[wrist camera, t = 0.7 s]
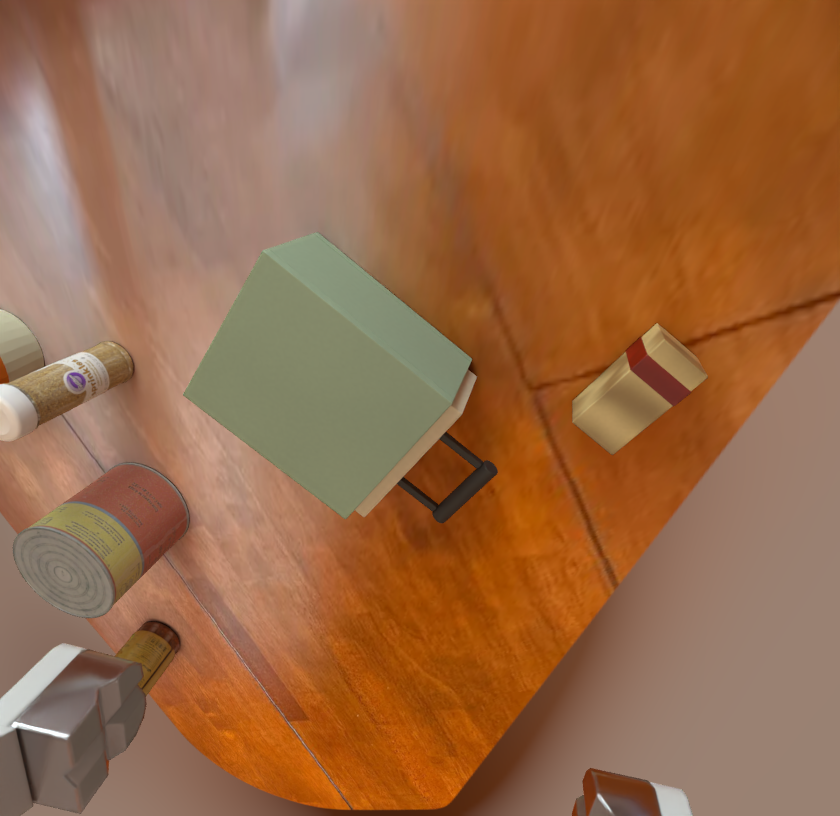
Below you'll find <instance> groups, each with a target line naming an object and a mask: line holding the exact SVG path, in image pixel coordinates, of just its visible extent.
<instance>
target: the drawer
mask: <svg viewBox="0 0 840 816" xmlns="http://www.w3.org/2000/svg"><path fill="white" fill-rule="evenodd" d="M476 378H477V376H476V375H474V374H473V373H472V372H471V371H469V370H467V372H466V374H465V377H464V379H463V381H462V383H461V385H460V388H459V390H458V392H457V394H456V396H455V399H454V401H453V403H452V405H451V406H450V407H449V408H448V409H447V410H446V411H445V412H444V413H443V414H442V415H441V417H440V418H439V419H438V420H437V421H436V422H435V423H434V424H433V425H432V426H431V427H430V428H429V430H428V431H427V432H426V433H425V434H424V435H423V436H422V437H421V438H420V439H419V440H418V442H417V443H416V444H415V445H414V446H413V447H412V448H411V449H410V450H409V451H408V452H407V453H406V455H405V456H404V457H403V458H402V459H401V460H400V461H399V462H398V463H397V464H396V465H395V467H394V468H393V469H392V470H391V471H390V472H389V473H388V474H387V475H386V476H385V477H384V478H383V480H382V481H381V482H380V483H379V484H378V485H377V486H376V487H375V488H374V489H373V490H372V492H371V493H370V494H369V495H368V496H367V497H366V498H365V499H364V500H363V501H362V502H361V503H360V505H359V506H358V507H357V508H356V509H355V511H356V512H358V513H359V514H360V515H362V516H363V517H366V516H367V514H368V513H369V512H370V511H371V510H372V509H373V508H374V507H375V506H376V505H377V504H378V503H379V502H380V501H381V500H382V499H383V498H384V496H385V495H386V494H387V493H388V492H389V491H390V490H391V489H392V488H393V487H394V486H395V485H396V484H398V485H399V486H401V487H402V488H403V489H404V490H406V491H407V492H408V493H409V494H411V495H412V496H413V497H415V498H416V499H417V500H418V501H420V502H421V503H422V504H424V505H425V506H426V507H427V508H429V509H430V510H431V511H433V512H432V514H433V517H434V518H435V520H436V521H438V522H439V523H444V522H445V521H447V520H448V519H449V518H450V517H451V516H452V515H453V514H454V513H455V512H456V511H457V510H458V509H460V508H461V507H462V506H463V505H464V504H465V503H466V502H467V501H468V500H469V499H470V498H471V497H473V496H474V495H475V494H476V493H477V492H478V491H479V490H480V489H481V488H482V487H483V486H484V485H485V484H487V483H488V482H489V481H490V480H491V479H492V478H493V477H494V476H495V475H496V474H497V473H498V471H497V468H496V466H495V465H494V464H493V463H492V462H490V461H488V460H486V461H484V462H483V461H482V460H480V459H479V458H478V457H477V456H475V455H474V454H473V453H472V452H470V451H469V450H468V449H467V448H465V447H464V446H463V445H462V444H460V443H459V442H458V441H457V440H455V439H454V438H453V437H452V436H450V435H449V434H448V433H447V432H446V431H447V430H448V429H449V428H450V427H451V426H452V425H453V424H454V423H455V422H456V420H457V419H458V418H459V417H460V416H461V415H462V414H463V411H464V409H465V406H466V404H467V401H468V399H469V396H470V393H471V391H472V388H473V386H474V383H475V381H476ZM438 439H440V440H441V441H443V442H444V443H445V444H446V445H448V446H449V447H450V448H451V449H453V450H454V451H455V452H456V453H458V454H459V455H460V456H462V457H463V458H464V459H465V460H467V461H468V462H469V463H470V464H472V465H473V466H474V467H475V468H477V469H476V470H475V471H474V472H473V473H472V474H471V475H470V476H468V477H467V478H466V479H465V480H464V481H463V482H462V483H461V484H460V485H459V486H458V487H457V488H456V489H455V490H454V491H453V492H452V493H451V494H450V495H449V496H448V497H447V498H446V499H444V500H443V501H442V502H441V503H440V504H439V505H438V504H437V503H436V502H435V501H433V500H432V499H431V498H430V497H428V496H427V495H426V494H424V493H423V492H422V491H421V490H419V489H418V488H417V487H416V486H414V485H413V484H412V483H410V482H409V481H408V480H407V479H405V478H404V477H403V476H404V475H405V474H406V473H407V472H408V471H409V470H410V469H411V468H412V467H413V466H414V465H415V464H416V463H417V462H418V461H419V460H420V458H421V457H422V456H423V455H424V454H425V453H426V452H427V451H428V450H429V449H430V448H431V447H432V446H433V445H434V444H435V443H436V442H437V441H438Z"/></svg>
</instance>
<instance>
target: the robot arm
mask: <svg viewBox="0 0 840 816" xmlns="http://www.w3.org/2000/svg"><path fill="white" fill-rule="evenodd" d="M143 677H144V674H143V668H142V663H139V662H135V661H131V660H127V659H123V658H120V657H116V656H112V655H108V654H104V653H100V652H96V651H93V650H90V649H86V648H81V647H77V646H73V645H69V644H65V643H63V644H61V645H59V646H57V647H55V648H53V649H52V650H50V651H49V652H48V653H47V654H46V655H45V656H44V657H43V658H42V659H41V660H40V661H39V662H38V663H37V664H36V665H35V666H34V667H33V668H32V669H31V670H30V671H29V672H28V673H27V674H26V675H25V676H24V677H23V678H21V680H20V681H18V682H17V683H16V684H15V685H14V686H13V687H12V688H11V689H10V690H9V691H8V692H7V693H6V694H5V695H4V696H3V697H2V698H1V699H0V816H20V815H22V814H23V813H25V812H26V811H27V810H29V809H30V808H32V807H33V803H36V804H41V805H45V806H50V807H53V808H58V809H62V810H67V811H70V812H75V813H79V814H81V813H82V811H83V810H84V809H85V807H86V806H87V804H88V803H89V801H90V800H91V798H92V797H93V796H94V794H95V793H96V792H97V790H98V789H99V787H100V786H101V785H102V783H103V782H104V780H105V779H106V778H107V776H108V770H109V760H110V759H112V758H114V757H115V756H117V755H119V754H120V753H122V752H124V751H125V750H126V749H127V748H128V746H129V745H130V743H131V742H132V740H133V739H134V737H135V736H136V734H137V732H138V729H139V727H140V725H141V723H142V721H143V718H144V714H145V709H146V694H145V693H144V692H143V690H142V689H141V688H140V687H139V685H138V684H139V682H140V681H141V680H142V678H143ZM583 791H584V795H583V796H581V797H579V798H577V799H576V802H575V805H574V809H573V812H572V816H693V814H692V811H691V807H690V804H689V800H688V798H687V796H686V795H685V793H684V792H683V790H681V789H678V788H674V787H669V786H665V785H660V784H656V783H651V782H649V781H647V780H642V779H638V778H634V777H628V776H625V775H620V774H615V773H611V772H606V771H602V770H597V769H593V768H590V769H588V770H587V771H586V773H585V776H584V779H583Z"/></svg>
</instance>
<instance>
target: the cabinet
mask: <svg viewBox="0 0 840 816" xmlns="http://www.w3.org/2000/svg"><path fill="white" fill-rule="evenodd" d="M471 361H472V358H470V357H469V356H468V355H467V354H466V353H464V352H463V351H462V350H461V349H459V348H458V347H457V346H456V345H455V344H453V343H452V342H451V341H450V340H448V339H447V338H446V337H445V336H444V335H442V334H441V333H440V332H439V331H438V330H436V329H435V328H434V327H433V326H431V325H430V324H429V323H428V322H427V321H425V320H424V319H423V318H422V317H420V316H419V315H418V314H417V313H416V312H414V311H413V310H412V309H411V308H409V307H408V306H407V305H406V304H405V303H403V302H402V301H401V300H400V299H398V298H397V297H396V296H395V295H394V294H392V293H391V292H390V291H389V290H387V289H386V288H385V287H384V286H383V285H381V284H380V283H379V282H378V281H376V280H375V279H374V278H373V277H372V276H370V275H369V274H368V273H367V272H366V271H364V270H363V269H362V268H361V267H359V266H358V265H357V264H356V263H355V262H353V261H352V260H351V259H350V258H348V257H347V256H346V255H345V254H344V253H342V252H341V251H340V250H339V249H337V248H336V247H335V246H334V245H333V244H331V243H330V242H329V241H328V240H326V239H325V238H324V237H323V236H322V235H320V234H319V233H318V232H316V233H313V234H310V235H307V236H304V237H301V238H298V239H295V240H293V241H290V242H287V243H284V244H281V245H278V246H275V247H272V248H269V249H266V250H263V251H262V253H261V255H260V256H259V258H258V260H257V262H256V264H255V266H254V267H253V269H252V271H251V273H250V275H249V276H248V278H247V280H246V282H245V284H244V285H243V287H242V289H241V291H240V293H239V294H238V296H237V298H236V300H235V302H234V303H233V305H232V307H231V309H230V311H229V313H228V314H227V316H226V318H225V320H224V322H223V323H222V325H221V327H220V329H219V331H218V332H217V334H216V336H215V338H214V340H213V341H212V343H211V345H210V347H209V349H208V350H207V352H206V354H205V356H204V358H203V359H202V361H201V363H200V365H199V367H198V369H197V370H196V372H195V374H194V376H193V378H192V379H191V381H190V383H189V385H188V387H187V388H186V390H185V392H184V394H183V396H185V397H186V398H187V399H189V400H190V401H191V402H193V403H194V404H195V405H197V406H198V407H199V408H200V409H202V410H203V411H204V412H206V413H207V414H208V415H210V416H211V417H212V418H213V419H215V420H216V421H217V422H219V423H220V424H221V425H223V426H224V427H225V428H227V429H228V430H229V431H230V432H232V433H233V434H234V435H236V436H237V437H238V438H240V439H241V440H242V441H244V442H245V443H246V444H247V445H249V446H250V447H251V448H253V449H254V450H255V451H257V452H258V453H259V454H261V455H262V456H263V457H264V458H266V459H267V460H268V461H270V462H271V463H272V464H274V465H275V466H276V467H277V468H279V469H280V470H281V471H283V472H284V473H285V474H287V475H288V476H289V477H291V478H292V479H293V480H294V481H296V482H297V483H298V484H300V485H301V486H302V487H304V488H305V489H306V490H308V491H309V492H310V493H311V494H313V495H314V496H315V497H317V498H318V499H319V500H321V501H322V502H323V503H325V504H326V505H327V506H328V507H330V508H331V509H332V510H334V511H335V512H336V513H338V514H339V515H340V516H341V517H343V518H344V519H347V518H348V517H349V515H350V514H351V513H352V512H353V511H354V510H355V509H356V508H357V507H358V506H359V505H360V503H361V502H362V501H363V500H364V499H365V498H366V497H367V496H368V495H369V494H370V493H371V492H372V490H373V489H374V488H375V487H376V486H377V485H378V484H379V483H380V482H381V481H382V480H383V478H384V477H385V476H386V475H387V474H388V473H389V472H390V471H391V470H392V469H393V468H394V467H395V465H396V464H397V463H398V462H399V461H400V460H401V459H402V458H403V457H404V456H405V455H406V453H407V452H408V451H409V450H410V449H411V448H412V447H413V446H414V445H415V444H416V443H417V442H418V440H419V439H420V438H421V437H422V436H423V435H424V434H425V433H426V432H427V431H428V430H429V428H430V427H431V426H432V425H433V424H434V423H435V422H436V421H437V420H438V419H439V418H440V417H441V415H442V414H443V413H444V412H445V411H446V410H447V409H448V408H449V407H450V406H451V405H452V403H453V401H454V399H455V396H456V394H457V392H458V390H459V388H460V385H461V383H462V381H463V379H464V377H465V374H466V372H467V370H468V368H469V366H470V363H471Z"/></svg>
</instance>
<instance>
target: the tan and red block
mask: <svg viewBox="0 0 840 816" xmlns="http://www.w3.org/2000/svg"><path fill="white" fill-rule="evenodd" d="M707 378H708V376H707V374H706V372H705V370H704V369H703V367H702V365H701V363H700V362H699V360H698V358H697V357H696V356H695V355H694V354H693V353H692V352H690V351H689V350H688V349H687V348H686V347H685V346H683V345H682V344H681V343H680V342H679V341H678V340H676V339H675V338H674V337H673V336H672V335H671V334H669V333H668V332H667V331H666V330H665V329H664V328H662V327H661V326H660V325H659V324H655V325H654V326H653V327H652V328H651V329H650V330H649V331H648V332H647V333H646V334H644V335H643V336H642V337H640V338H639V339H638V340H637V341H636V342H634V343H633V344H632V345H631V346H630V347H629V348H628V349H627V350H626V352H625V353H624V354H623V355H622V356H621V357H620V358H618V359H617V360H616V361H615V362H614V363H613V364H612V365H611V366H610V367H609V368H608V369H607V370H606V371H604V372H603V373H602V374H601V375H600V376H599V377H598V378H597V379H596V380H595V381H594V382H593V383H591V384H590V385H589V386H588V387H587V388H586V389H585V390H584V391H583V392H582V393H581V394H580V395H578V396H577V397H576V398H575V399H574V400H573V401H572V422H573V423H574V424H575V425H576V426H577V427H578V428H580V429H581V430H582V431H583V432H585V433H586V434H587V435H588V436H589V437H591V438H592V439H593V440H594V441H595V442H597V443H598V444H599V445H600V446H602V447H603V448H604V449H605V450H606V451H608V452H609V453H610V454H611V455H613V454H615V453H616V452H617V451H618V450H620V449H621V448H622V447H623V446H624V445H626V444H627V443H628V442H629V441H631V440H632V439H633V438H634V437H635V436H637V435H638V434H639V433H640V432H642V431H643V430H644V429H645V428H647V427H648V426H649V425H650V424H651V423H653V422H654V421H655V420H656V419H658V418H659V417H660V416H661V415H662V414H664V413H665V412H666V411H667V410H669V409H670V408H671V407H672V406H675V405H676V404H678V403H679V402H680V401H681V400H683V399H684V398H685V397H686V396H687V395H689V394H690V393H691V391H692V390H693V389H694V388H696V387H697V386H698V385H699V384H700V383H702V382H703V381H704V380H705V379H707Z"/></svg>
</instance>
